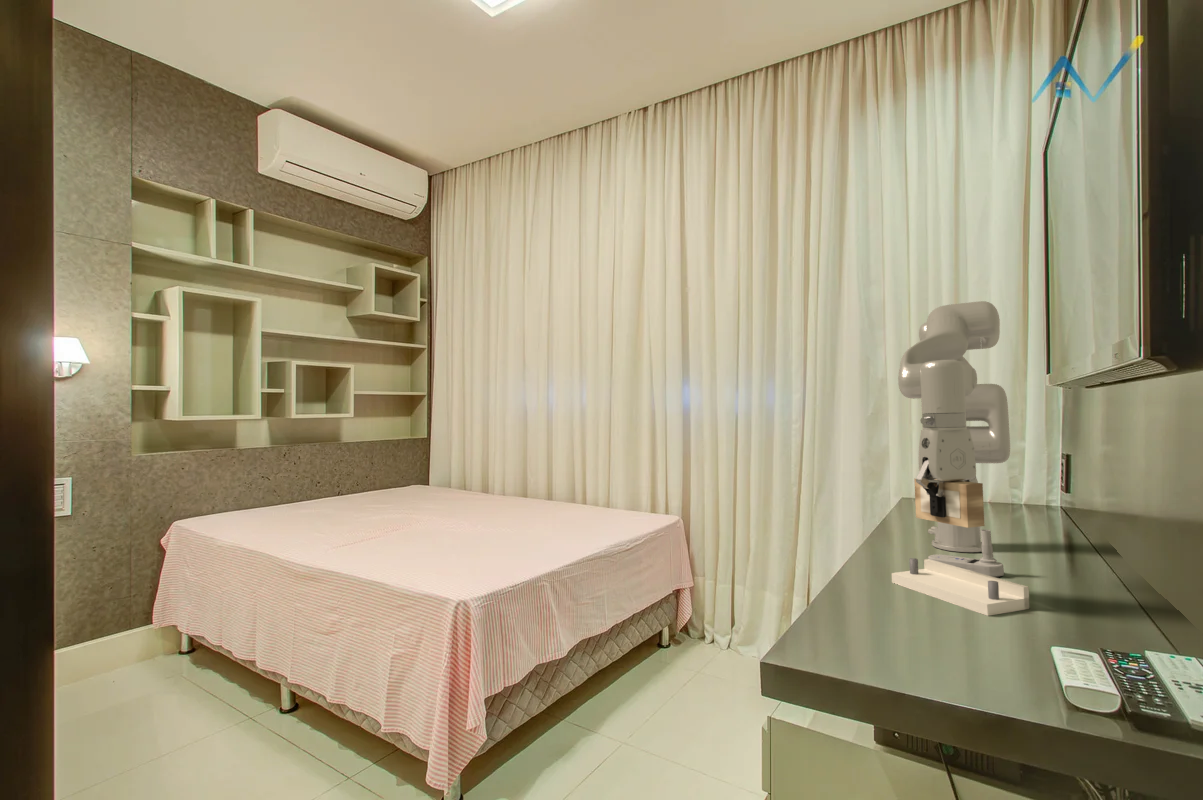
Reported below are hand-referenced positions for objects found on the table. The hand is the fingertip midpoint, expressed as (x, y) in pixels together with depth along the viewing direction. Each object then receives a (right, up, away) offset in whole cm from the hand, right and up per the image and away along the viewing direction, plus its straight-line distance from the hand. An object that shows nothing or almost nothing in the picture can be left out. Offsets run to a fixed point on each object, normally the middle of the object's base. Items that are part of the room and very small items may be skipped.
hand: (947, 514), depth 115 cm
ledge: (+2, -16, 0) cm, 16 cm away
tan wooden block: (0, -1, 0) cm, 1 cm away
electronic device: (+14, -16, +17) cm, 27 cm away
